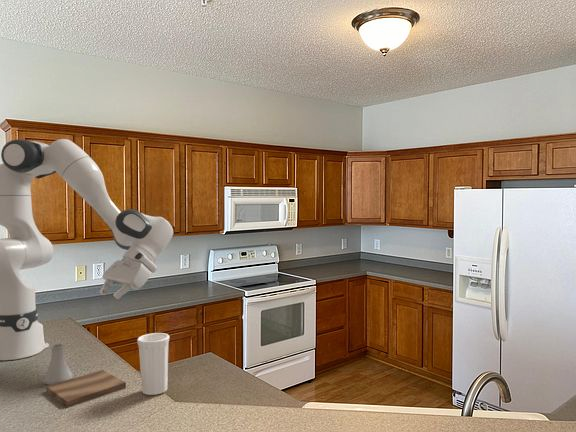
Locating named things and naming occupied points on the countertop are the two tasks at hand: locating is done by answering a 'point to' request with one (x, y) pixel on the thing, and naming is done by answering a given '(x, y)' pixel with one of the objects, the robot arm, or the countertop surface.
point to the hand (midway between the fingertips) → (108, 295)
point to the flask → (57, 367)
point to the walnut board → (85, 388)
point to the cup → (154, 362)
